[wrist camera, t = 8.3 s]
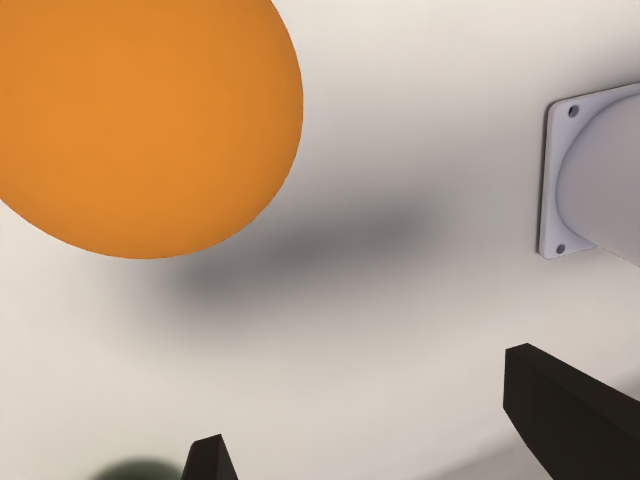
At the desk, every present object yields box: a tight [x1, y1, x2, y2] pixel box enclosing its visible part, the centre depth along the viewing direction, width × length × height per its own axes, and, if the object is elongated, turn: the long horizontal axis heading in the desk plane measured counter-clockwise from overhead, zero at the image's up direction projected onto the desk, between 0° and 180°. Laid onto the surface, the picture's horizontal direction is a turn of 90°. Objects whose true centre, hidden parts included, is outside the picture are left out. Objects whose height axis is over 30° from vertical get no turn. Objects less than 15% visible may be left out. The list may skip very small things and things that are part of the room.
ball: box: [0, 0, 303, 259], centre depth 8 cm, size 6×6×6 cm
